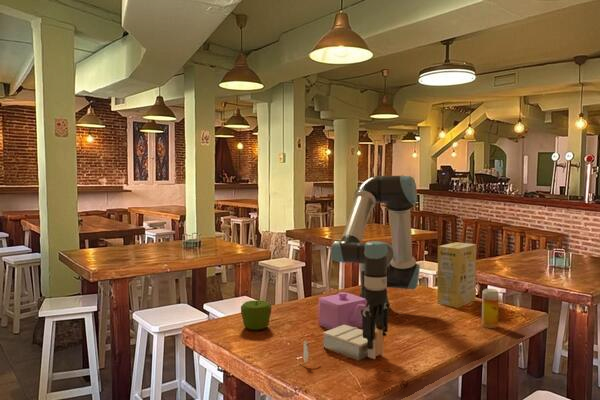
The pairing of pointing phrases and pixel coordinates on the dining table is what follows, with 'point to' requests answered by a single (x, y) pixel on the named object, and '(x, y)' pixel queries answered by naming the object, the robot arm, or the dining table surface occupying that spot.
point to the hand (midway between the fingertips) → (375, 355)
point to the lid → (356, 336)
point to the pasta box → (456, 274)
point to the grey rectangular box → (345, 348)
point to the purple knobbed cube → (341, 310)
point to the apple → (256, 314)
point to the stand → (306, 351)
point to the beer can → (490, 308)
